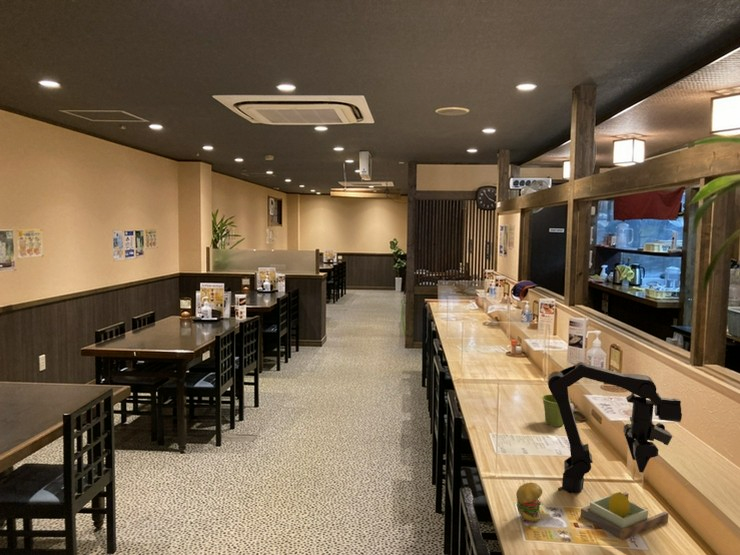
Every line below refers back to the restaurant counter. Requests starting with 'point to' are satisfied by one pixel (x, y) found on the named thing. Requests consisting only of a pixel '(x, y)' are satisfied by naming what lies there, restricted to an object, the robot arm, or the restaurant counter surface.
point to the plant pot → (552, 411)
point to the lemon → (619, 504)
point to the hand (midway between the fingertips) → (637, 465)
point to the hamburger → (529, 501)
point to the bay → (626, 531)
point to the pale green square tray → (603, 511)
